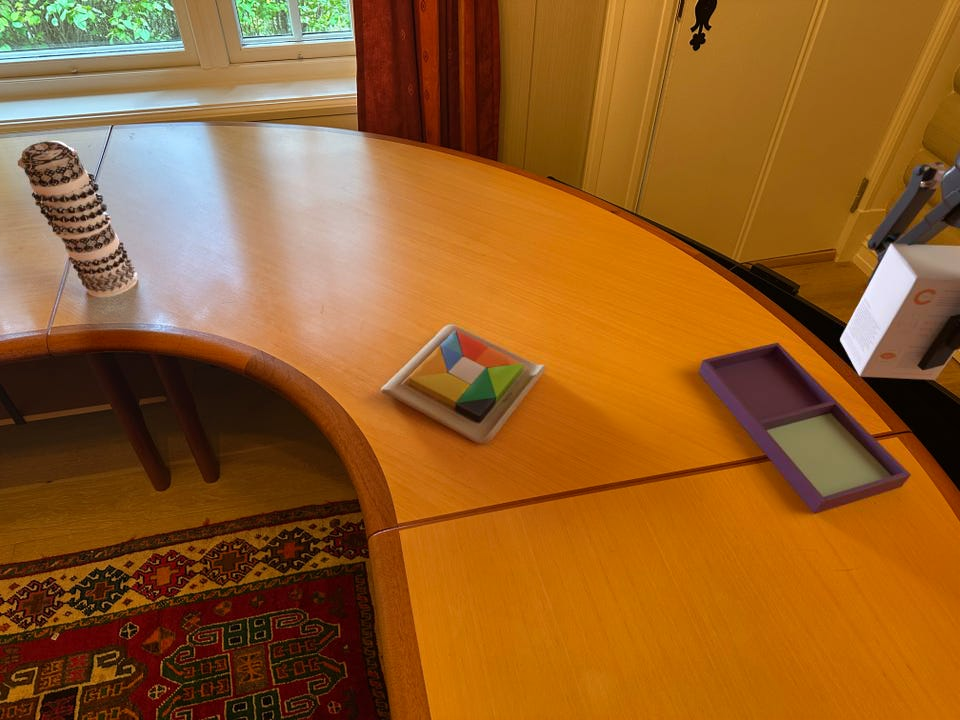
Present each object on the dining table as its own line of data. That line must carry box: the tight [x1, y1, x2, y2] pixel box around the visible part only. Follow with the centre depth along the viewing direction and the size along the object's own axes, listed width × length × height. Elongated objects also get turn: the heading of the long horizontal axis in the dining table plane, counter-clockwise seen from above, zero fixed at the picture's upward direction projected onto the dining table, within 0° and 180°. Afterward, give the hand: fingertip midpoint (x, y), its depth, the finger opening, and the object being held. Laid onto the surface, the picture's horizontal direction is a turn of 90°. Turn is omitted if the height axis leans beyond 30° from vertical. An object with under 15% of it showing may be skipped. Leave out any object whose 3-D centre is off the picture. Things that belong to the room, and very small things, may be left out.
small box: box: [839, 244, 960, 381], centre depth 63 cm, size 8×6×13 cm
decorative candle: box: [17, 140, 139, 298], centre depth 99 cm, size 9×9×25 cm
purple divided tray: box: [698, 342, 912, 514], centre depth 83 cm, size 13×26×3 cm, turn 17°
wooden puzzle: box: [380, 323, 547, 445], centre depth 88 cm, size 18×19×4 cm
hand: (897, 339), depth 65 cm, fingers closed on small box, 8 cm apart
